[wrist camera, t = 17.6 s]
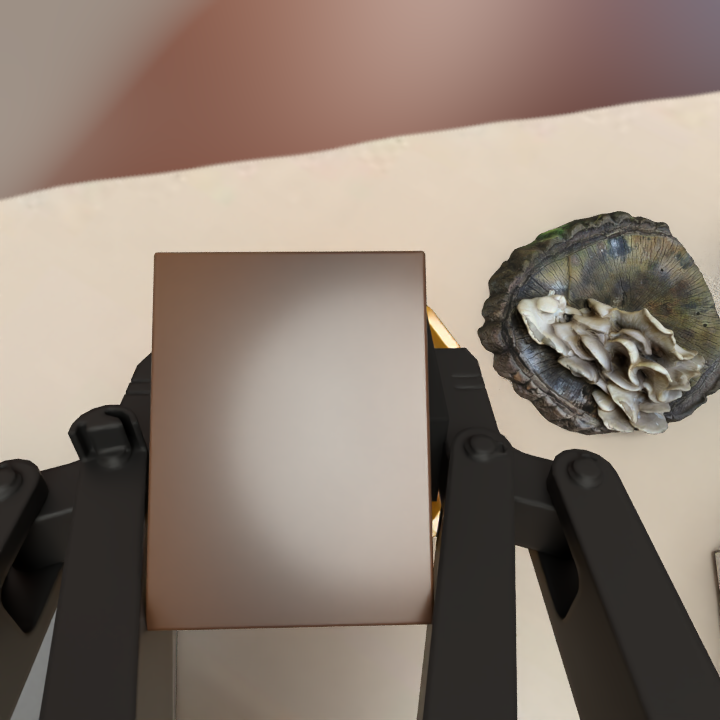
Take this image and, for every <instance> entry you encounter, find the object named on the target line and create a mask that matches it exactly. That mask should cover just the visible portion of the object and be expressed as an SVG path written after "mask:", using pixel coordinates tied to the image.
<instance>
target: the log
mask: <svg viewBox="0 0 720 720" xmlns="http://www.w3.org/2000/svg"><path fill="white" fill-rule="evenodd" d="M489 289H490V297H489V298H488V299H487V300H486V301H485V303H484V307H483V309H482V315H483V316H484V318H485V319H486V320H485V324H484V325H483V327H481V328H479V329H478V335H479V337H480V339H481V343H482V345H483V346H484V347H485V348H486V349H487V350H488V351H490V352H492V353H494V365H493V366H494V368H495V370H496V371H497V372H498V374H499V375H500V376H502V377H505V378H508V379H509V380H510V381H512V383H513V387H514V390H515V391H516V392H517V394H519V395H520V396H521V397H523V398H526V399H529V400H530V401H531V402H532V403H533V404H534V405H535V407H536V408H537V409H538V411H539V412H540V413H541V414H542V415H543V416H544V417H545V418H546V419H547V420H548V421H550V422H552V423H554V424H556V425H558V426H560V427H562V428H564V429H567V430H569V431H573V432H578V433H582V434H585V435H594V434H603V433H611V432H629V433H630V432H633V431H634V430H641V431H644V432H646V433H649V434H658V433H663V432H665V430H666V429H667V428H668V424H667V423H669V422H676V421H680V420H682V419H684V418H685V417H687V416H689V415H691V414H692V413H693V412H694V410H696V409H697V408H698V407H699V406H700V405H702V404H704V403H706V402H707V398H706V396H708V395H710V394H713V393H715V392H716V391H717V390H719V389H720V318H719V316H718V314H717V311H716V309H715V304H714V300H713V299H712V294H711V292H710V290H709V288H708V286H707V285H706V283H705V280H704V278H703V275H702V273H701V272H700V271H699V269H698V267H697V266H696V265H695V264H694V260H693V259H692V257H691V256H690V255H689V254H688V253H687V251H686V249H685V248H684V247H683V245H682V244H681V243H680V242H679V241H678V240H677V238H674V237H673V236H672V234H671V232H670V230H669V226H668V225H667V224H666V223H664V222H659V223H658V222H653V221H651V220H649V219H646V218H643V217H632V216H631V215H630V214H628V213H626V212H621V211H616V212H613V213H608V214H600V215H597V216H593V217H590V218H585V219H579V220H574V221H572V222H569V223H567V224H565V225H562V226H560V227H558V228H556V229H553V230H550V231H547V232H545V233H542V234H540V235H539V236H538V237H537V238H536V240H535V241H533V242H532V243H530V244H528V245H526V246H523V247H520V248H517V249H515V250H514V251H513V253H512V254H511V256H510V258H509V260H508V261H505V262H503V264H502V265H501V267H500V268H499V269H498V270H497V271H496V273H495V274H494V275H493V276H492V277H491V278H490V280H489Z"/></svg>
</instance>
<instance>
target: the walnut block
mask: <svg viewBox="0 0 720 720" xmlns="http://www.w3.org/2000/svg"><path fill="white" fill-rule="evenodd" d="M433 607H434V572H433V534H432V496H431V457H430V419H429V381H428V343H427V305H426V267H425V253H424V252H423V251H344V252H171V253H155V255H154V282H153V323H152V364H151V405H150V446H149V487H148V528H147V568H146V609H145V610H146V622H147V630H148V631H167V630H209V629H251V628H293V627H335V626H378V625H420V624H431V622H432V614H433Z"/></svg>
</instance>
